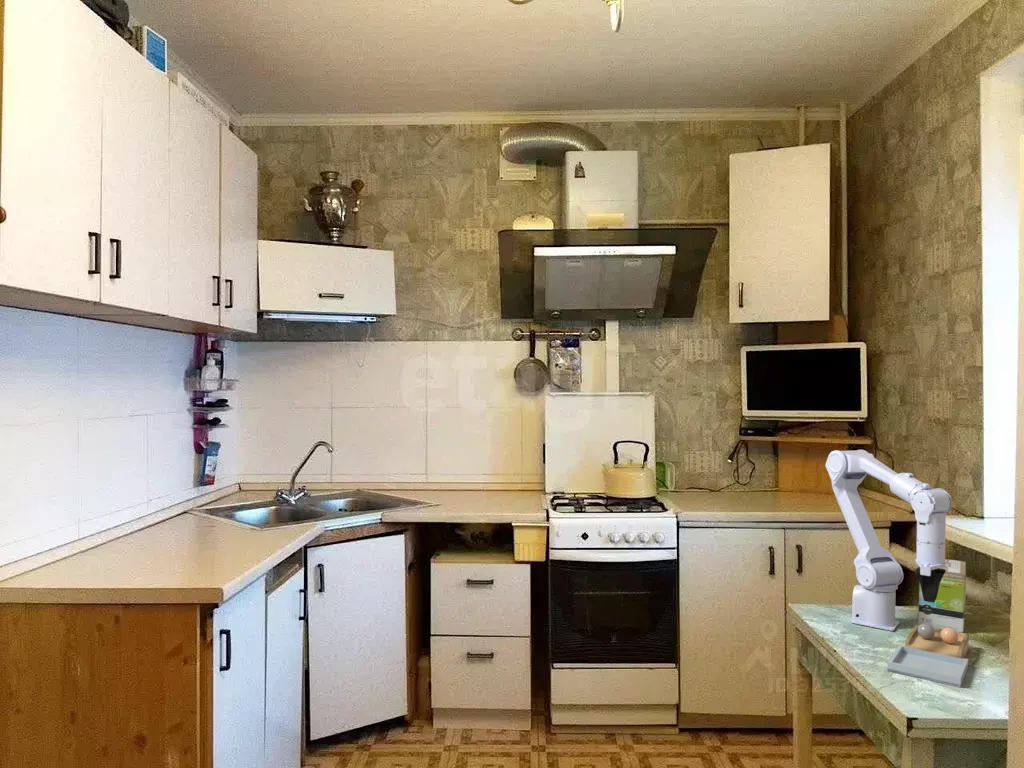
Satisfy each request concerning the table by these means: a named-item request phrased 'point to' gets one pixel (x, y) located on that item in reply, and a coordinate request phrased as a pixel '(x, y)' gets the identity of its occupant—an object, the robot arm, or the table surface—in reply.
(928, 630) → the pebble grey
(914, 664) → the ceramic dish
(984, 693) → the table surface
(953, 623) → the tea box
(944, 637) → the pebble terracotta
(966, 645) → the oak tray
